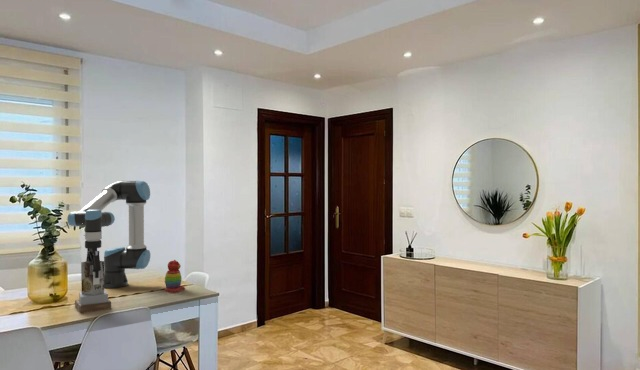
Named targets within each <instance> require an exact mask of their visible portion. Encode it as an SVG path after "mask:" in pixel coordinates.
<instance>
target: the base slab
mask: <svg viewBox="0 0 640 370" xmlns="http://www.w3.org/2000/svg"><path fill="white" fill-rule="evenodd" d="M74 308H75V309H76V310H77V311H78V312H79V314H85V313H92V312H97V311H104V310H109V309H112V301H111V300H110V299H109V298H108V302H105V303H96V304H88V305H81V304H80V301H79V299H74ZM91 311H92V312H91ZM84 312H85V313H84Z"/></svg>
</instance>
